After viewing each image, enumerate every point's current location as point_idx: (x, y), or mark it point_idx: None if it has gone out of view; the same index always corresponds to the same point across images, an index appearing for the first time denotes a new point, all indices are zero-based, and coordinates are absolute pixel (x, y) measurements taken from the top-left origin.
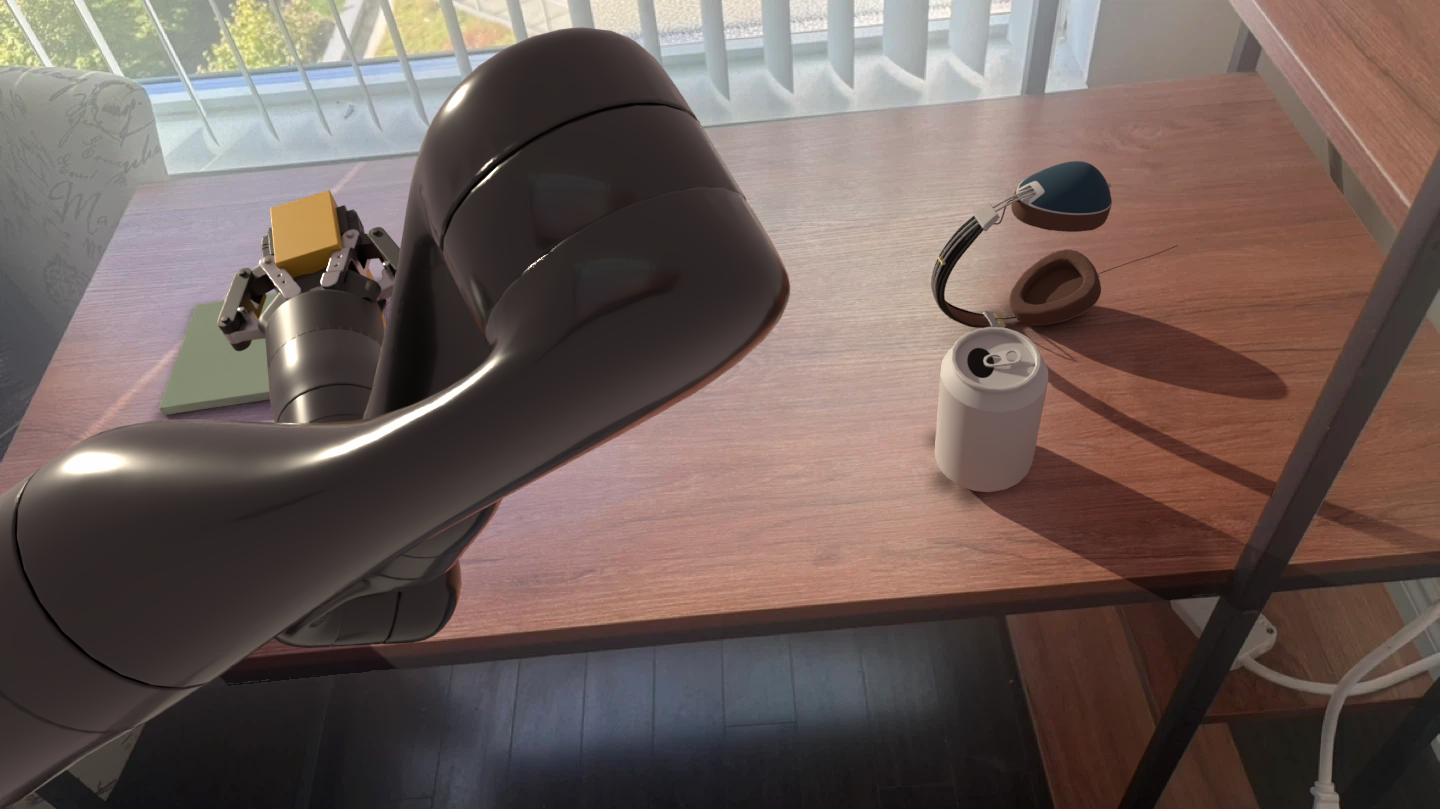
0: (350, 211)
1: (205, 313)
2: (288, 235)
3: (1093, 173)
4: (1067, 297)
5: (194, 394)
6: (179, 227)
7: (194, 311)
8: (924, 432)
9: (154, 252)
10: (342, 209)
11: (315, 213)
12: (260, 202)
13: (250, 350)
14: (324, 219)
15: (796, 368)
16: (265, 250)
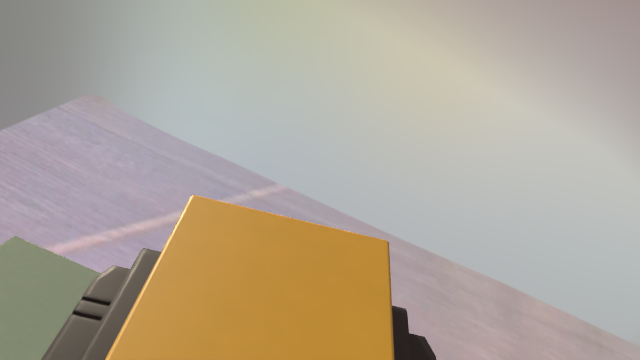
0: (415, 341)
1: (14, 254)
2: (190, 346)
3: None
4: None
5: None
6: (82, 140)
7: (5, 243)
8: None
9: (37, 149)
10: (400, 325)
11: (327, 303)
12: (176, 162)
13: (14, 355)
14: (355, 354)
15: None
16: (79, 327)
